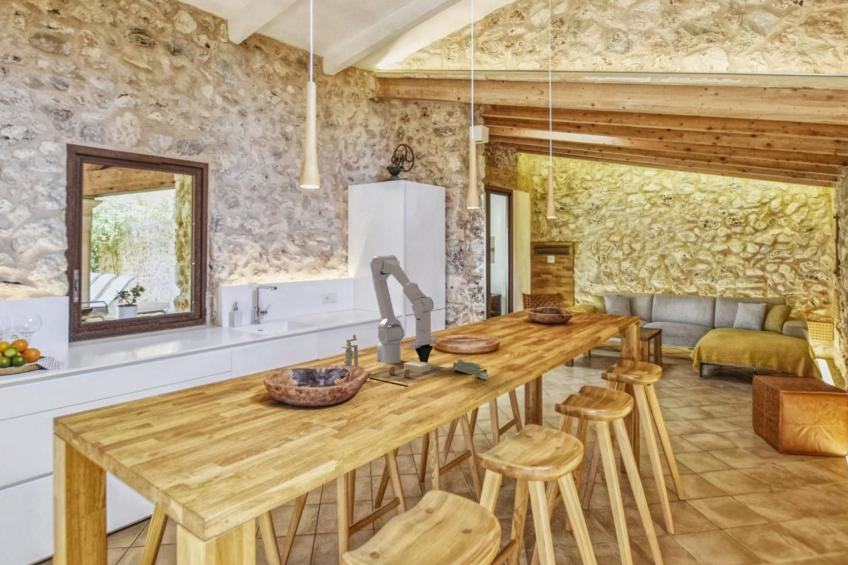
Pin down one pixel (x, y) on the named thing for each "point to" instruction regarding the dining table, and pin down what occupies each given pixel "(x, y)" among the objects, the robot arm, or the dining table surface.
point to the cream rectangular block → (417, 366)
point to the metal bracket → (470, 369)
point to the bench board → (402, 374)
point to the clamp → (351, 352)
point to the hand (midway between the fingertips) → (423, 364)
